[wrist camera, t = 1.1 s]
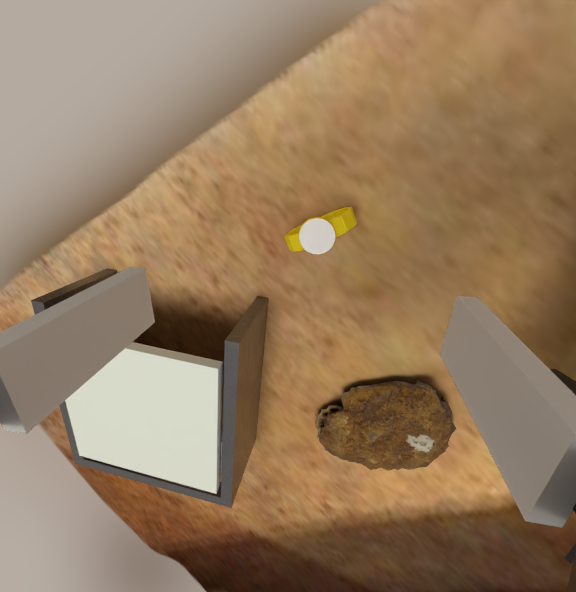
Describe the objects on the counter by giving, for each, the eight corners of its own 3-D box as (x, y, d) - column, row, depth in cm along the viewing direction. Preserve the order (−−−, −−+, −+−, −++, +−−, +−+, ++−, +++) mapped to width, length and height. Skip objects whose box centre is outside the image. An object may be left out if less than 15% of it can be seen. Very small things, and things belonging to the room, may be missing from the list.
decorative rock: (336, 456, 40) (457, 434, 35) (336, 487, 36) (471, 467, 32) (301, 392, 36) (431, 359, 32) (297, 420, 32) (444, 386, 28)
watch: (347, 196, 27) (351, 201, 21) (357, 225, 28) (364, 237, 22) (285, 222, 28) (275, 233, 23) (297, 249, 29) (289, 266, 24)
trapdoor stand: (268, 298, 32) (239, 343, 24) (255, 439, 41) (231, 507, 32) (107, 268, 34) (31, 300, 26) (127, 407, 43) (75, 463, 35)
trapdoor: (223, 361, 25) (218, 368, 25) (220, 484, 32) (216, 493, 31) (57, 325, 28) (47, 331, 27) (86, 447, 34) (79, 455, 33)
